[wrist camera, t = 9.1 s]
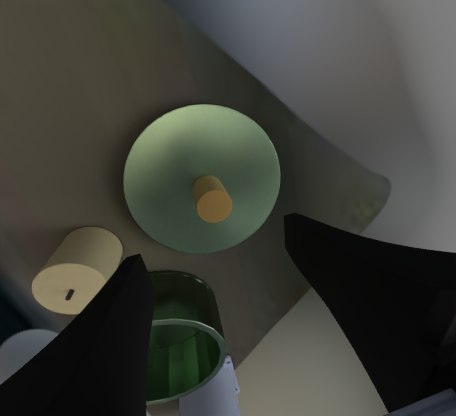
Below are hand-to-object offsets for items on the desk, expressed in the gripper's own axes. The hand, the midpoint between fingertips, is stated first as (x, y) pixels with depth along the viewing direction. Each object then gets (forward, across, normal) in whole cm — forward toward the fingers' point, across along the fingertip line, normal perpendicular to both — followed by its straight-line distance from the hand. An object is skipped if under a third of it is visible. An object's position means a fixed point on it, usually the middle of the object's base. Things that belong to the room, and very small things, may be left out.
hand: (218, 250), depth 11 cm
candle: (+8, +10, +3) cm, 13 cm away
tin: (+8, +7, +12) cm, 16 cm away
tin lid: (+8, -1, 0) cm, 8 cm away
